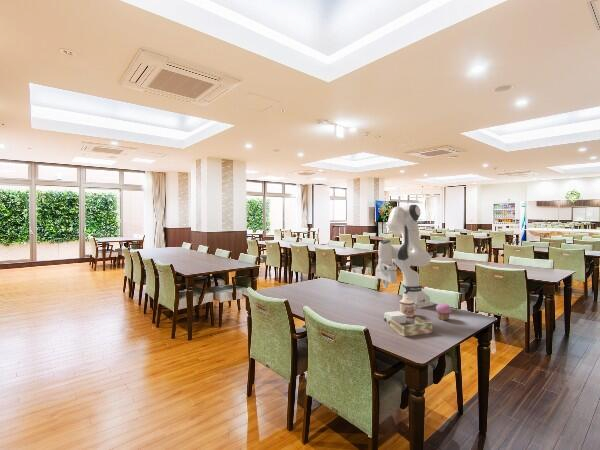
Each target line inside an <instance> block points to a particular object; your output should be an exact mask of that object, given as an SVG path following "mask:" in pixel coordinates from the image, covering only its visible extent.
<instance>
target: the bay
mask: <svg viewBox="0 0 600 450" xmlns="http://www.w3.org/2000/svg"><path fill="white" fill-rule="evenodd" d="M389 328H390V329H391V330H392V331H394V332H396V333H397V334H399V335H401V336H402V337H411V336H416V335H424V334H432V333H433V322H432V321H430V322H429V321H428V322H427V321H426V320H424V319H422V318H420V317H418V316H416V317H414V324H406V325H402V324H401V323H399V324H398V323H397V322H395V321H393V320H390V324H389Z"/></svg>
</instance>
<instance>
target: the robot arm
mask: <svg viewBox="0 0 600 450" xmlns="http://www.w3.org/2000/svg"><path fill="white" fill-rule="evenodd" d="M420 216H421V209H420V206H418V205H417V204H410V205H404V206H394V207H393V208H392V209H391V210H390V213H389V215H388V218H387V219H388V220H387V223H386V225H387V228H388V230H390V231H391V233H394V234H396V235H397V234H398V235H399V236H401V244H392V241H391V240H389V239H384V240H383V239H382V240H380V241H379V242H378V250H377V254H378V259H377V262H378V263H377V265H376V267H375V278H376V279H379V280H381V282H382V286H383V288H385V289H387V288H389V283H390V284H395V283H397V281H398V276H397V275H398V274H397V273H398V272H397V270H398V268H399V270H400V271H401V274H402V280H403V282H402V299H401V300H403V299H405V297H408V299H410V300H412V301H414V303H415V304H417V306H418V307H417V309H420V308H425V307H426V308H427V307H430V306H434V302H432V301H431V298H430V295H429V294H428V293H426V292H425V291H423V290H424V289H425V285H420V273H418V272H417V271H415V270H413V269H412V268H411V267H424V266H429V264H430V263H431V260H432V259H431V258H432V257H431V255H430V253H429V252H428V251H426V249H424V248H423V246H422V245H421V242H420V229H419V223H418V221H419V218H420ZM410 249H411V250H410ZM422 289H423V290H422ZM414 308H416V305H414Z"/></svg>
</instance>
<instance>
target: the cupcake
mask: <svg viewBox="0 0 600 450" xmlns="http://www.w3.org/2000/svg"><path fill="white" fill-rule="evenodd" d="M435 310H436V312H437V316H438V319H439V320H442V321H446V320H447V321H448V320H449V319H450V316H451V312H453V311H452V310H453V309H452V307H451V306H450V305H449V304H448V303H446V302H441V303H438V304H437V305H436V306H435Z"/></svg>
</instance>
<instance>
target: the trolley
mask: <svg viewBox="0 0 600 450" xmlns="http://www.w3.org/2000/svg"><path fill="white" fill-rule="evenodd" d="M383 317H384V318H383V321H385V322H387V323H388V324H389V325H390V320H393V321H395V322H397V323H398V324H405V323H407V321H408V320H407V317H406V315H405V314H403V313H401V312H400V310H397V311H396V310H395V311H389V312H388V311H386V312H384V313H383Z"/></svg>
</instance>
